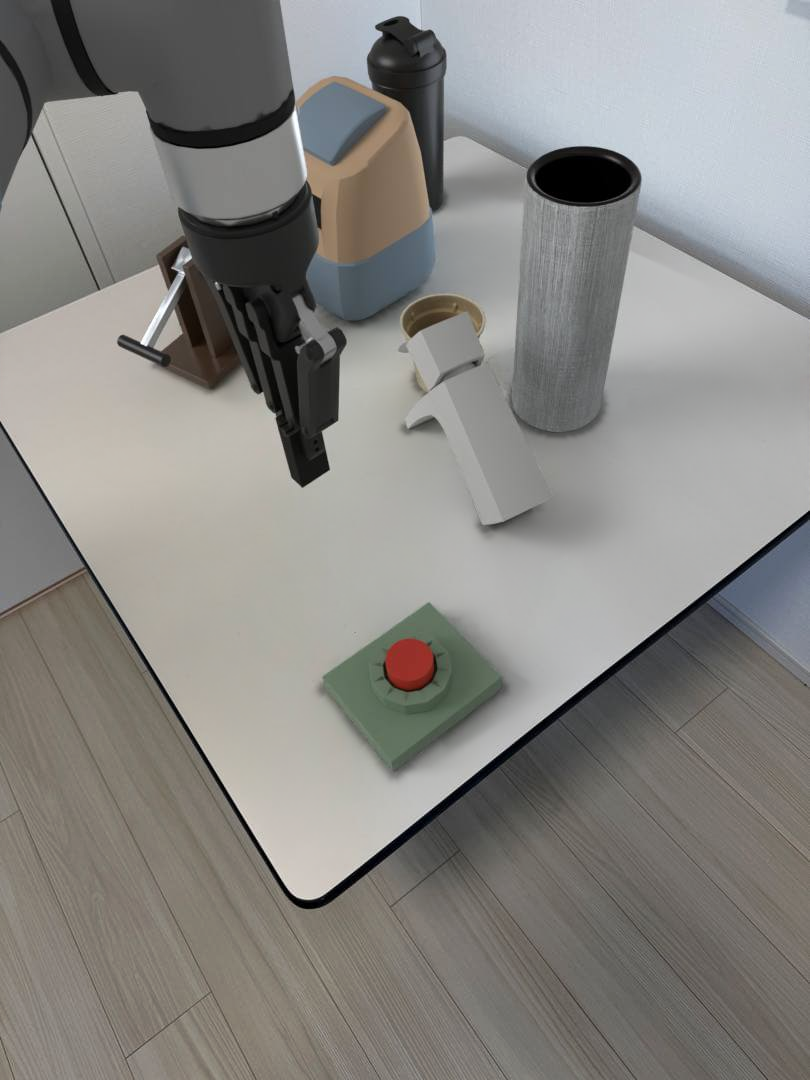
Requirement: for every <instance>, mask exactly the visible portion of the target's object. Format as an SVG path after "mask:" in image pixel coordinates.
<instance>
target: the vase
mask: <svg viewBox="0 0 810 1080" xmlns="http://www.w3.org/2000/svg"><path fill="white" fill-rule="evenodd" d="M642 181H643V178H642V172H641V170H640V169H639V167H638V165H637V164H636V163H635V162H634V161H633V160H632V159H630V158H629V157H628V156H626V155H624V154H623V153H621V152H618V151H615V150H612V149H609V148H605V147H600V146H592V145H572V146H566V147H561V148H560V147H559V148H556V149H553V150H550V151H548V152H546V153H544V154H542V155H540V156H539V157H537V158H536V159H535V160H534V161H532V162H531V163H530V165H529V166H528V168H527V170H526V172H525V178H524V193H523V208H522V209H523V210H522V222H521V223H522V227H521V241H520V242H521V243H520V255H519V256H520V257H519V258H520V259H519V271H518V272H519V275H518V291H517V306H516V307H517V308H516V322H515V323H516V324H515V338H514V340H515V341H514V353H513V355H514V357H513V369H512V370H513V371H512V385H511V386H512V387H511V388H512V389H511V402H512V407H513V409H514V412H515V413H516V415H517V416H518V417H519V418H520V419H521V420H522V421H523V422H525V423H526V424H527V425H529V426H531V427H533V428H535V429H538V430H542V431H545V432H553V433H565V432H572V431H576V430H579V429H581V428H584V427H585V426H588V425H589V424H590V423H591V422H592V421H593V420H594V419H595V418H596V417H597V415H598V414H599V412H600V409H601V406H602V402H603V396H604V392H605V386H606V382H607V381H606V380H607V375H608V370H609V365H610V360H611V359H610V358H611V355H612V354H611V353H612V347H613V342H614V337H615V332H616V325H617V321H618V315H619V310H620V304H621V303H620V302H621V299H622V292H623V288H624V282H625V276H626V272H627V265H628V260H629V254H630V250H631V249H630V248H631V243H632V238H633V234H634V233H633V231H634V226H635V222H636V216H637V212H638V211H637V209H638V206H639V205H638V204H639V199H640V194H641V188H642Z"/></svg>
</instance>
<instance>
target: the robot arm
mask: <svg viewBox="0 0 810 1080" xmlns="http://www.w3.org/2000/svg"><path fill="white" fill-rule="evenodd" d="M284 24H285V23H284V18H283V12H282V5H281V0H0V213H2V212H1V211H2V208H3V204H2V203H3V201H4V198H5V195H6V193H7V190H8V188H9V185H10V183H11V180H12V177H13V176H14V173H15V170H16V168H17V165H18V163H19V160H20V158H21V156H22V154H23V151H24V150H25V148H26V147H27V145H28V144H29V141H30V139H31V136H32V134H33V131H34V129H35V127H36V124H37V122H38V121H39V118H40V116H41V113H42V111H43V109H44V106H45V104H46V103H51V102H59V101H67V100H77V99H85V98H93V97H94V98H96V97H105V96H114V95H118V94H119V93H127V92H133V93H134V92H135V93H136V92H137V93H138V95H139V97H140V99H141V102H142V103H143V105H144V108H145V113H146V116H147V120H148V123H149V130H150V133H151V136H152V140H153V142H154V147H155V150H156V152H157V156H158V158H159V162H160V165H161V169H162V171H163V175H164V178H165V181H166V184H167V187H168V191H169V194H170V197H171V199H172V200H173V202H174V203H175V205H176V206H177V215H178V219H179V221H180V224H181V228H182V231H183V234H184V236H185V237H186V241H187V244H188V247H189V250H190V253H191V256H192V259H193V262H194V264H195V266H196V267H197V269H198V270H199V271H200V272H201V273H202V275H203V277H204V278H205V280H206V282H207V284H208V285H209V287H210V289H211V291H212V293H213V295H214V297H215V298H216V301H217V303H218V306H219V308H220V311H221V313H222V316H223V318H224V321H225V323H226V326H227V328H228V330H229V333H230V335H231V338H232V340H233V343H234V345H235V348H236V350H237V353H238V355H239V358H240V360H241V363H240V364H242V365H241V366H242V368H243V370H244V372H245V374H246V377H247V380H248V382H249V385H250V388H251V390H252V391H253V392H254V393H255V394H256V395H258V396H259V395H261V394H262V393H263V396H264V400H265V404H266V405H265V406H266V407H267V408H268V410H269V411H270V412H271V413H272V414H275V418H274V419H275V423H276V426H277V429H278V433H279V437H280V440H281V444H282V448H283V452H284V456H285V459H286V460H285V461H286V463H287V467H288V470H289V474H290V478H291V479H292V480H293V481H294V483H296V484H297V485H298V486H300V487H301V489H303V488H305V487H306V486H308V485H310V484H311V483H313V482H314V481H316V480H317V479H319V478H320V477H322V476H323V475H325V474H326V473H328V472H329V471H330V470H331V468H330V461H329V459H328V453H327V449H326V444H325V439H324V434H323V432H324V431H325V430H326V429H328V428H330V427H331V426H333V425H334V424H336V423H338V422H339V415H340V414H339V413H340V411H339V410H340V377H341V376H340V374H341V373H340V372H341V371H340V370H341V369H340V367H341V355H342V353H343V351H344V349H345V348H346V346H347V343H348V341H347V338H346V335H345V333H344V332H343V330H342V329H341V328H339V326H338V327H337V326H336V327H333V328H332V329H329V328H328V327H326V328H325V327H324V325H323V324H322V322H321V321H320V319H319V318H318V316H317V315H316V314H315V311H316V309H317V303H316V300H315V297H314V294H313V292H312V290H311V287H310V285H309V282H308V279H307V277H306V273H307V270H308V267H309V265H310V262H311V260H312V258H313V257H314V255H315V253H316V251H317V248H318V244H319V232H318V227H317V221H316V215H315V209H314V203H313V197H312V191H311V187H310V185H309V183H308V182H307V180H306V178H307V167H306V161H305V156H304V150H303V145H302V139H301V134H300V128H299V122H298V117H299V115H300V114H299V107H298V106H297V105H296V104H295V102H296V94H295V89H294V82H293V77H292V69H291V63H290V55H289V51H288V43H287V38H286V31H285V25H284Z"/></svg>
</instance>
